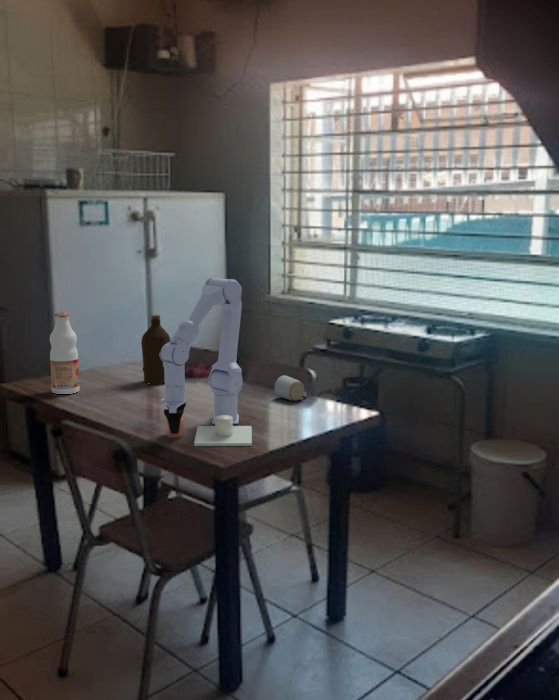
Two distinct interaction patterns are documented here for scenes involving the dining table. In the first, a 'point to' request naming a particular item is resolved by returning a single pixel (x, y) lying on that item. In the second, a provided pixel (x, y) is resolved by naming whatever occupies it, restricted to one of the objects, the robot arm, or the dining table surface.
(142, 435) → the dining table surface
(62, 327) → the fruit juice
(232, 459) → the dining table surface
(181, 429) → the pink rounded piece
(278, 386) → the ceramic mug
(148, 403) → the dining table surface
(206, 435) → the baseplate
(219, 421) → the off-white rounded cylinder
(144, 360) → the olive oil
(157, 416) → the dining table surface
